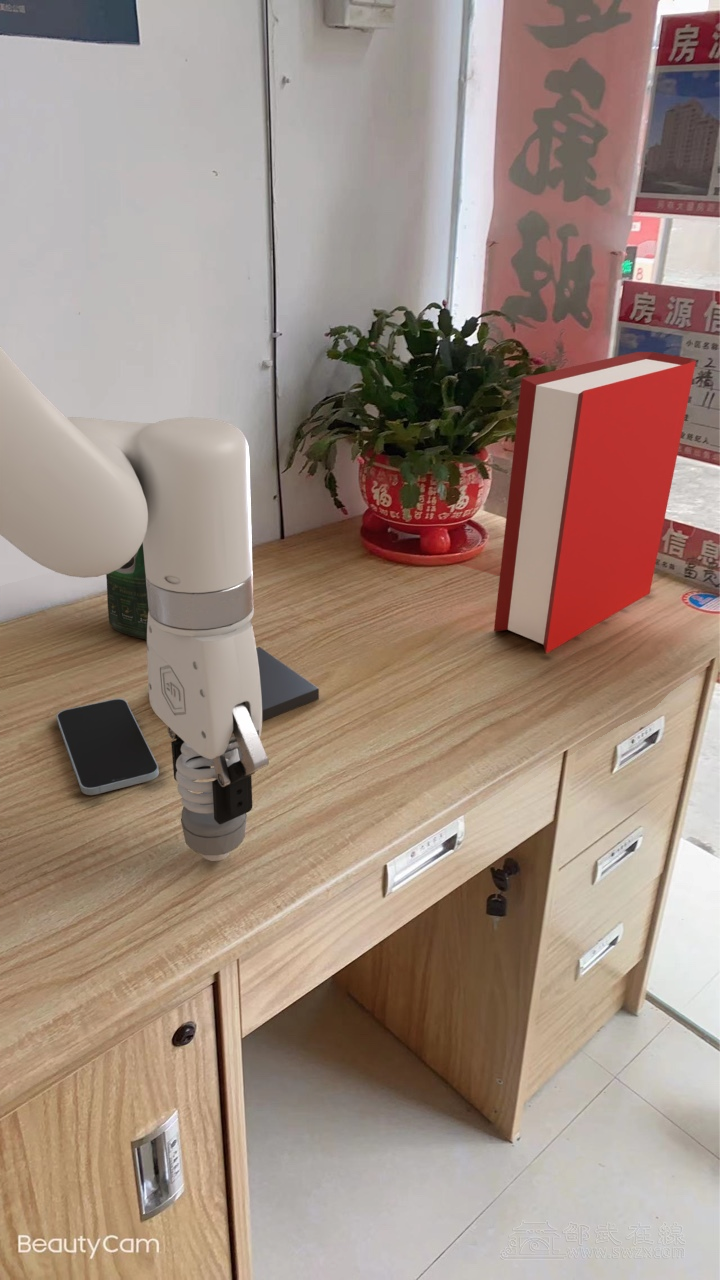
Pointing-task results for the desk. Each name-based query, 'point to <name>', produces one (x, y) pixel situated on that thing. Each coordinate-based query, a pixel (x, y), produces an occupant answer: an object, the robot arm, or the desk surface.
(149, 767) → the smartphone
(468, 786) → the desk surface
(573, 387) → the book
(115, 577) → the coffee jar
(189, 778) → the light bulb
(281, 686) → the black button base
